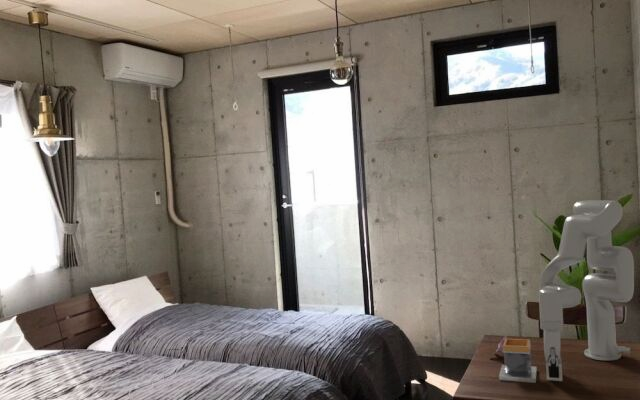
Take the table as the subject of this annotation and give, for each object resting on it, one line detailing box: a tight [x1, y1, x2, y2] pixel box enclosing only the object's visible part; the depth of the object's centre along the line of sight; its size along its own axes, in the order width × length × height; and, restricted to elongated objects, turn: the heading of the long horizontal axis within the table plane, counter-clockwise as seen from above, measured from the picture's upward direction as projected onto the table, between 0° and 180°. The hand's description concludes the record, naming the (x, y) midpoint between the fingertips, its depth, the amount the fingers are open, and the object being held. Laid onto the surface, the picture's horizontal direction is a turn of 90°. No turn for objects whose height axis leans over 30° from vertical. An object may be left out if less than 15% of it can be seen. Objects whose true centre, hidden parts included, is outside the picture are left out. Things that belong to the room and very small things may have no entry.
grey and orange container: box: [498, 338, 538, 384], centre depth 202 cm, size 12×12×12 cm
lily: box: [490, 334, 509, 357], centre depth 222 cm, size 12×12×10 cm
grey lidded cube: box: [545, 355, 563, 382], centre depth 198 cm, size 5×5×7 cm
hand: (554, 372), depth 198 cm, fingers open, 9 cm apart
